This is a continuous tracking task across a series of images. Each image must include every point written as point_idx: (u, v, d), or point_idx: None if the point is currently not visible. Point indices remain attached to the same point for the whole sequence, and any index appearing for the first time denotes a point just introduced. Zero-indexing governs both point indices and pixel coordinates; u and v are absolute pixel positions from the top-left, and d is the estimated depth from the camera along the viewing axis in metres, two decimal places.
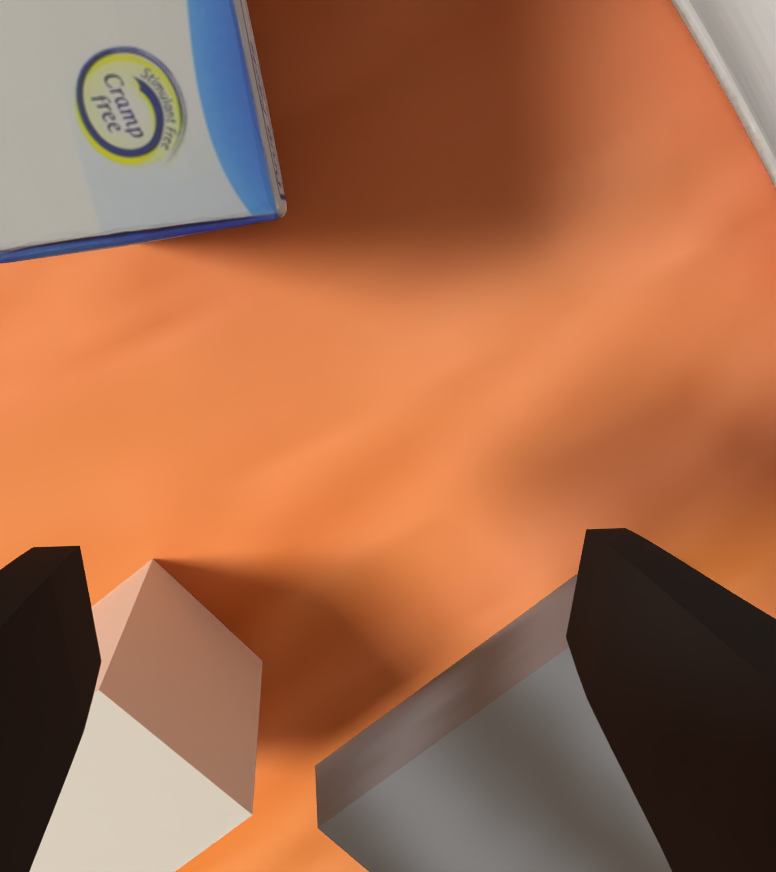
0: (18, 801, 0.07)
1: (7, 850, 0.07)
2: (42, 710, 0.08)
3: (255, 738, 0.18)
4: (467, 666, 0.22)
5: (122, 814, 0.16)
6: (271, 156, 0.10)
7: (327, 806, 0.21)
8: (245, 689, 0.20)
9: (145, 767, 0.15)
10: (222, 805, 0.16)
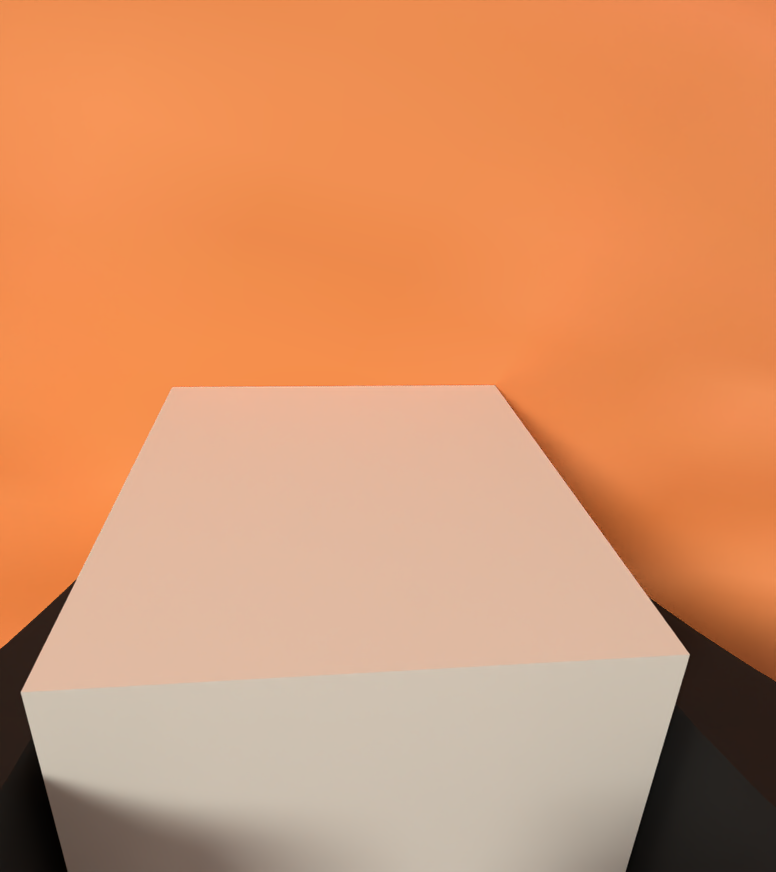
0: None
1: None
2: None
3: None
4: None
5: None
6: None
7: None
8: None
9: (558, 845, 0.06)
10: None
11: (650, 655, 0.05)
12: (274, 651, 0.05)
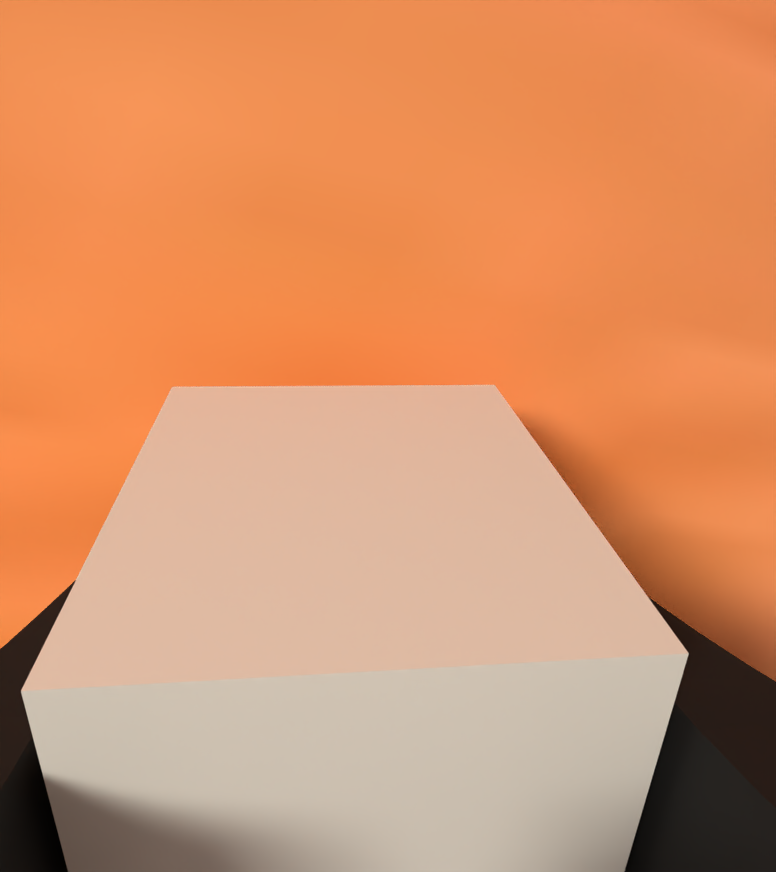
0: None
1: None
2: None
3: None
4: None
5: None
6: None
7: None
8: None
9: (555, 844, 0.06)
10: None
11: (649, 653, 0.05)
12: (272, 651, 0.05)
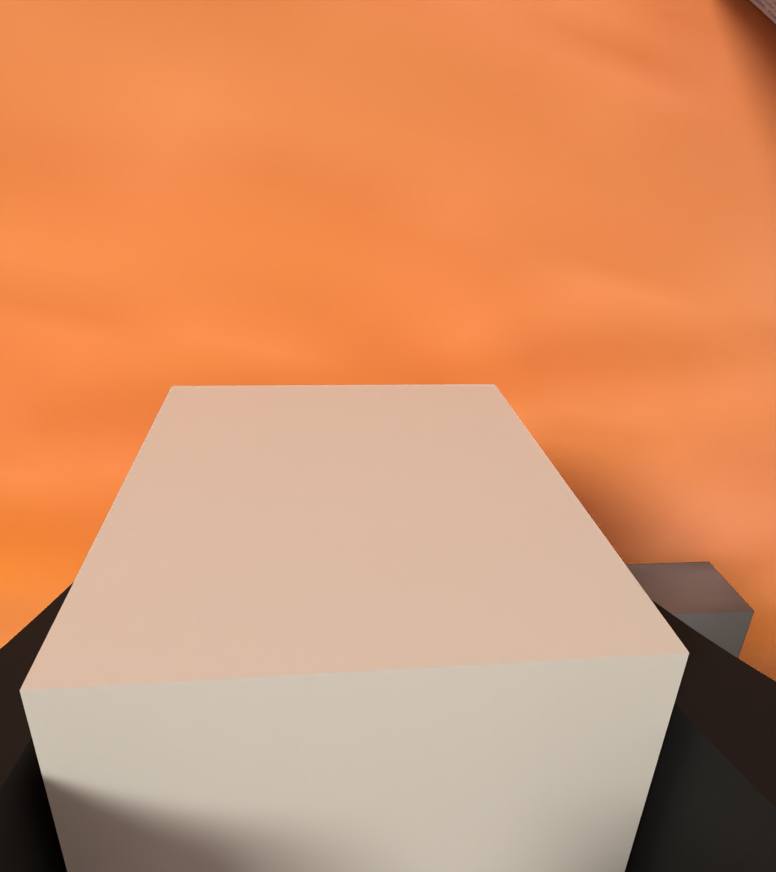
0: None
1: None
2: None
3: None
4: None
5: None
6: None
7: None
8: None
9: (557, 842, 0.06)
10: None
11: (649, 653, 0.05)
12: (273, 650, 0.05)
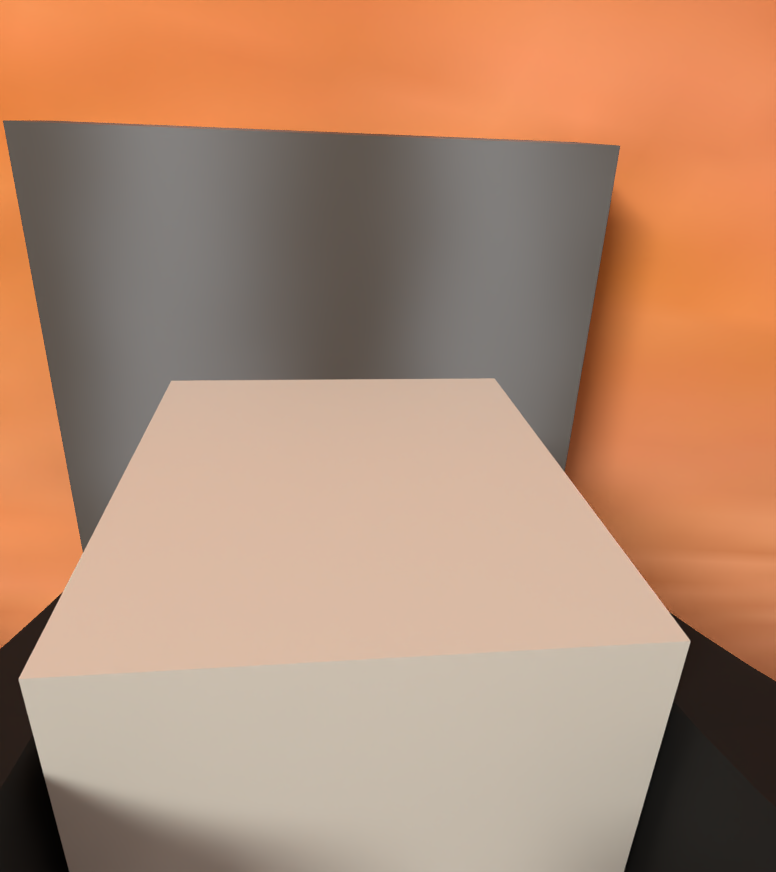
0: None
1: None
2: None
3: None
4: (348, 133, 0.15)
5: None
6: None
7: (37, 121, 0.13)
8: None
9: (557, 834, 0.06)
10: None
11: (651, 641, 0.05)
12: (273, 639, 0.05)
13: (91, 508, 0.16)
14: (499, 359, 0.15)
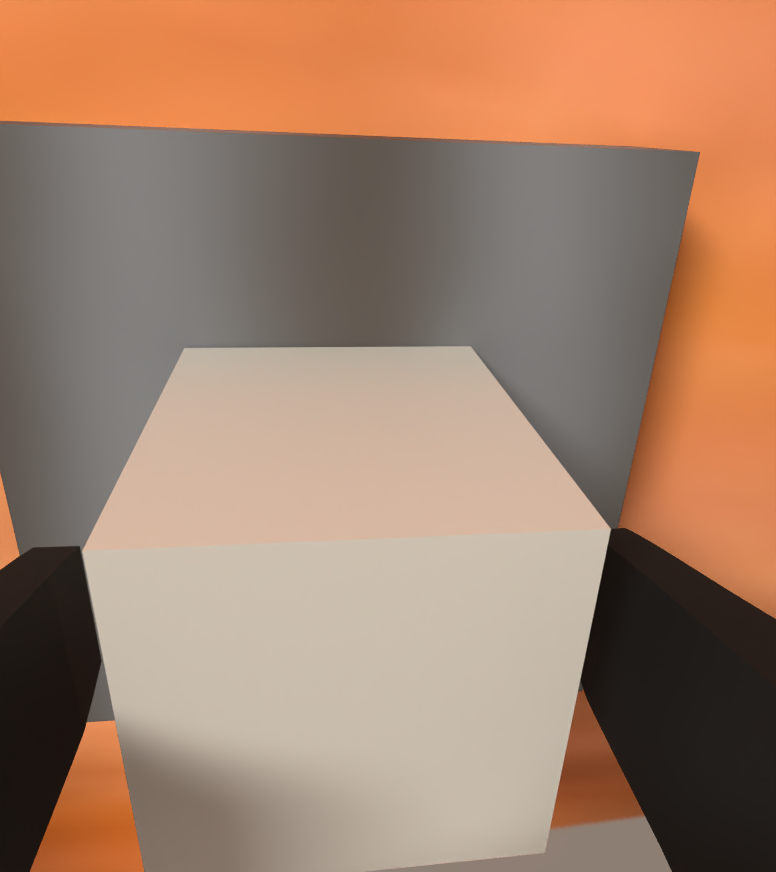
0: (18, 801, 0.07)
1: (7, 850, 0.07)
2: (42, 710, 0.08)
3: None
4: None
5: (394, 748, 0.08)
6: None
7: None
8: None
9: (512, 700, 0.07)
10: (529, 818, 0.08)
11: (579, 529, 0.07)
12: (279, 526, 0.06)
13: None
14: (542, 411, 0.13)
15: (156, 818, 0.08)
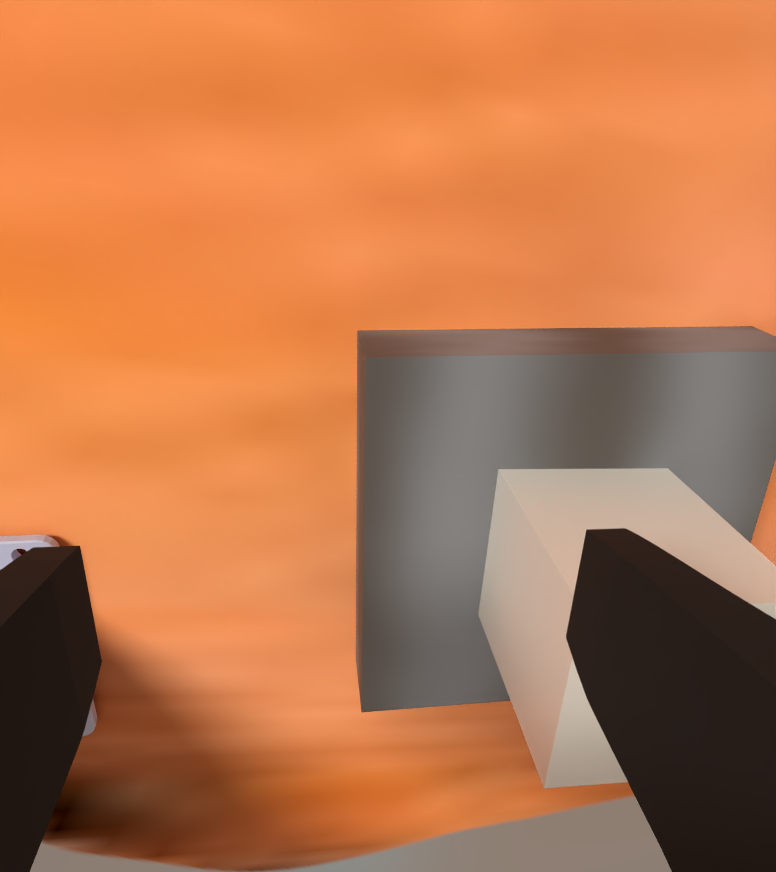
0: (18, 801, 0.07)
1: (7, 850, 0.07)
2: (42, 710, 0.08)
3: None
4: (584, 332, 0.19)
5: None
6: None
7: (379, 350, 0.17)
8: None
9: None
10: None
11: None
12: None
13: (374, 622, 0.20)
14: None
15: (563, 744, 0.15)
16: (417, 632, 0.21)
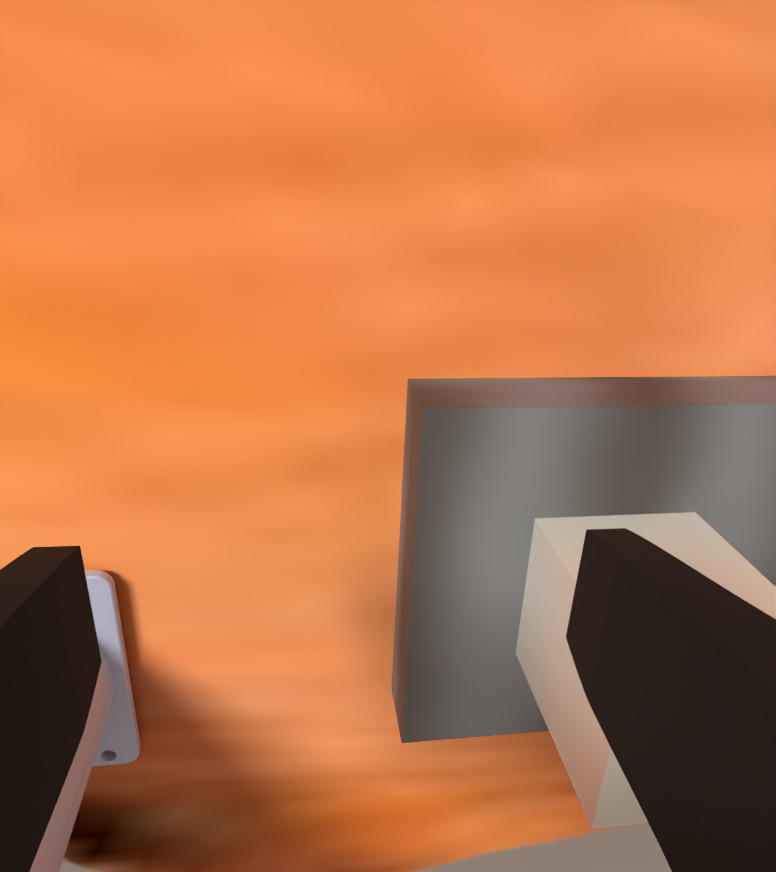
0: (18, 801, 0.07)
1: (7, 850, 0.07)
2: (42, 710, 0.08)
3: None
4: (622, 381, 0.20)
5: None
6: None
7: (434, 401, 0.18)
8: None
9: None
10: None
11: None
12: None
13: (419, 657, 0.21)
14: (730, 543, 0.21)
15: (610, 789, 0.15)
16: (459, 666, 0.21)
